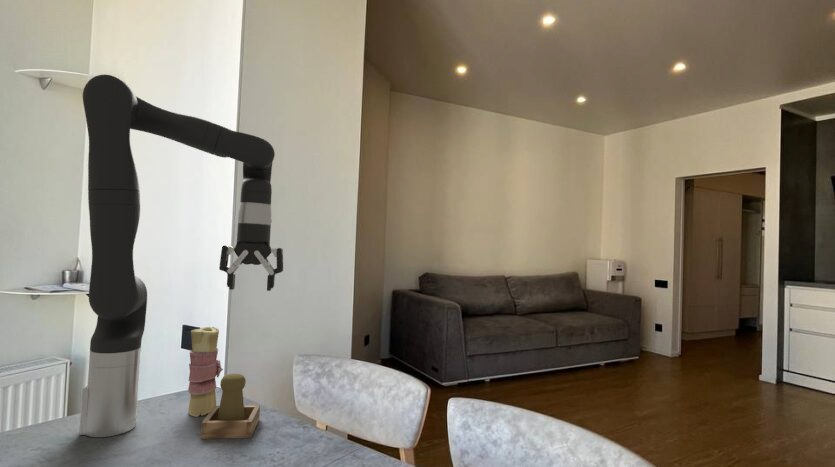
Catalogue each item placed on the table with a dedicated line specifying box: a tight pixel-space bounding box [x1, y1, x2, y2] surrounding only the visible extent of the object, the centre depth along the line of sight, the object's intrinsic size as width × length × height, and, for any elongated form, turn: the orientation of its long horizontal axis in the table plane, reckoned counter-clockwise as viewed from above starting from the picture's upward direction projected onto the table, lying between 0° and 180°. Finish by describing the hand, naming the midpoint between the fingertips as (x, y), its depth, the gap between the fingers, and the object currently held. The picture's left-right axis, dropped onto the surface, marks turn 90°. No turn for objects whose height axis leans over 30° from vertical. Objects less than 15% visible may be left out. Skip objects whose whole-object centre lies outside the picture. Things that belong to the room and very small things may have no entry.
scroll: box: [187, 326, 224, 418], centre depth 109 cm, size 8×8×20 cm
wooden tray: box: [200, 404, 261, 440], centre depth 99 cm, size 10×10×3 cm
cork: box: [217, 373, 247, 421], centre depth 100 cm, size 6×6×11 cm
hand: (250, 289), depth 108 cm, fingers open, 8 cm apart
